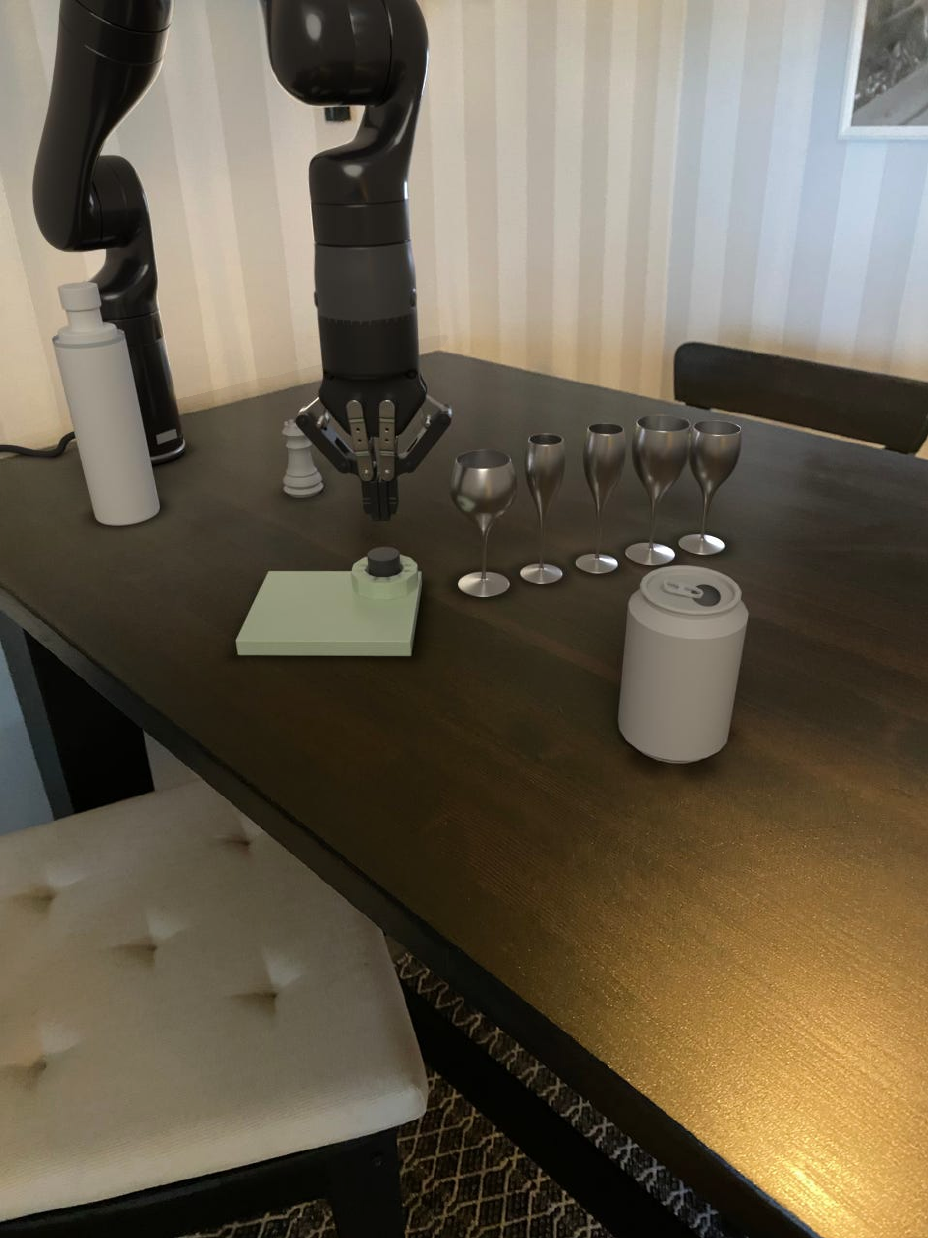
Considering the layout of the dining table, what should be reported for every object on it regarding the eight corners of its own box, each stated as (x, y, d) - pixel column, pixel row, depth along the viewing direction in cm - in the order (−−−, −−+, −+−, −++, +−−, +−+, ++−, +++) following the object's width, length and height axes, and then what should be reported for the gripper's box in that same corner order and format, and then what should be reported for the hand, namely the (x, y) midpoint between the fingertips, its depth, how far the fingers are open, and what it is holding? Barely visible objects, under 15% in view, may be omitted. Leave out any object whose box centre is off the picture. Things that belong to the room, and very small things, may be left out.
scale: (237, 655, 72) (232, 623, 71) (271, 582, 83) (266, 553, 81) (411, 656, 72) (409, 624, 70) (422, 582, 83) (421, 553, 81)
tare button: (366, 579, 78) (365, 561, 77) (370, 564, 80) (369, 546, 79) (399, 579, 78) (398, 561, 77) (402, 564, 80) (401, 546, 79)
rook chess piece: (291, 501, 99) (282, 431, 95) (278, 488, 102) (269, 419, 98) (329, 494, 101) (322, 424, 97) (316, 480, 104) (309, 413, 100)
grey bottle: (166, 499, 100) (119, 260, 87) (151, 524, 94) (99, 273, 82) (105, 501, 100) (49, 262, 87) (87, 527, 94) (24, 275, 81)
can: (729, 777, 59) (757, 620, 53) (613, 764, 60) (627, 608, 54) (724, 710, 65) (748, 562, 59) (619, 699, 66) (632, 553, 60)
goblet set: (705, 529, 91) (723, 401, 84) (738, 553, 87) (760, 419, 80) (443, 576, 84) (439, 438, 77) (464, 605, 79) (462, 461, 72)
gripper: (457, 293, 70) (461, 499, 79) (289, 295, 71) (312, 500, 80) (453, 314, 64) (458, 536, 73) (268, 317, 64) (295, 536, 73)
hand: (381, 517), depth 76 cm, fingers closed
